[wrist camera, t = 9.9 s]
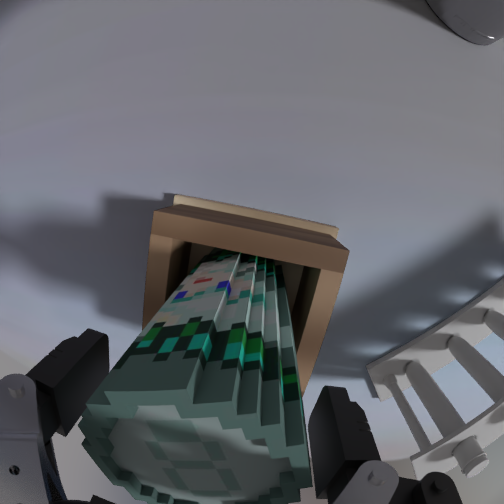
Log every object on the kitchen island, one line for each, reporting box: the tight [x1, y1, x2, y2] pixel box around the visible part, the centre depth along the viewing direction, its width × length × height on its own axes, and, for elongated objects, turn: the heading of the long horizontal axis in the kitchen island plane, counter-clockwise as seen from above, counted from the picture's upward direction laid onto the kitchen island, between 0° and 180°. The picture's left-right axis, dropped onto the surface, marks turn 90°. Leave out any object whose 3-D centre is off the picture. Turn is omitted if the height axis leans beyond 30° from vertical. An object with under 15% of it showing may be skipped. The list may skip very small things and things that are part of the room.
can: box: [78, 247, 313, 504], centre depth 13 cm, size 6×6×15 cm
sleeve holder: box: [142, 194, 349, 397], centre depth 19 cm, size 11×11×6 cm
